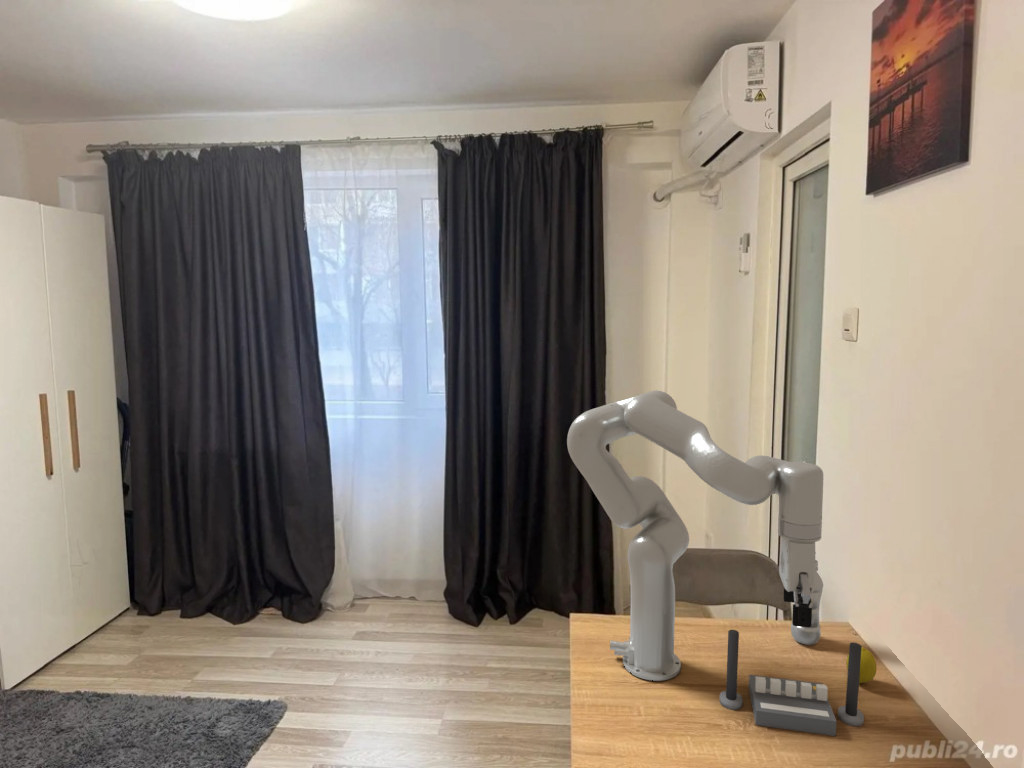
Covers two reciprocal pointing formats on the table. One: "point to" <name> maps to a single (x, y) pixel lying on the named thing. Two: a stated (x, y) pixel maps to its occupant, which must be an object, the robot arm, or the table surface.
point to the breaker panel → (791, 710)
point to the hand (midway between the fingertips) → (796, 613)
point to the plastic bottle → (812, 633)
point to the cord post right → (852, 689)
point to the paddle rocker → (791, 689)
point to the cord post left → (732, 675)
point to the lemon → (866, 666)
